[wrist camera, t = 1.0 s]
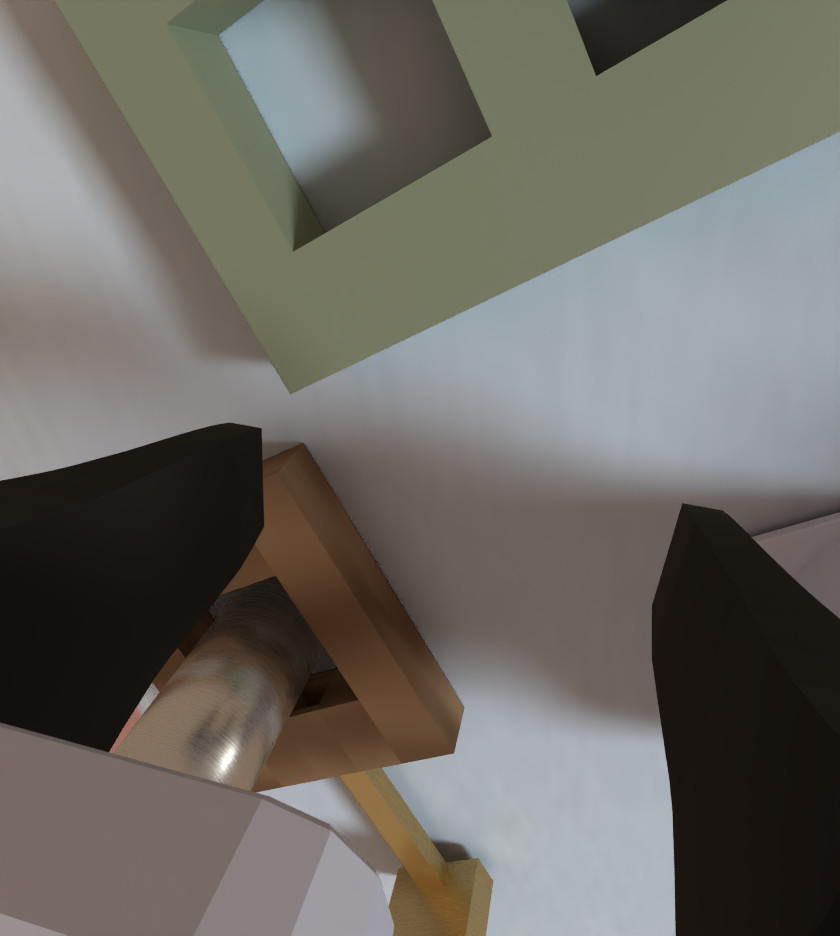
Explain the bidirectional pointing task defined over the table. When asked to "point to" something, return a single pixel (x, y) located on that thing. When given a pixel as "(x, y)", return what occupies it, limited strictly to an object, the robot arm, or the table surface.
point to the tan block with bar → (423, 868)
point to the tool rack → (461, 156)
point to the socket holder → (340, 640)
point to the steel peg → (231, 691)
